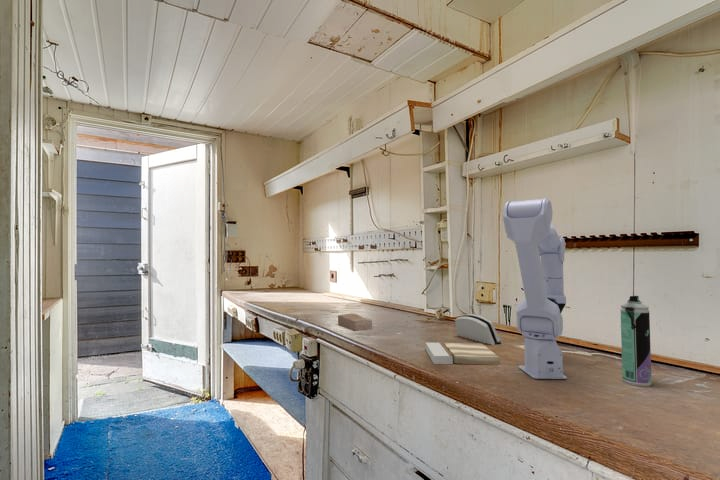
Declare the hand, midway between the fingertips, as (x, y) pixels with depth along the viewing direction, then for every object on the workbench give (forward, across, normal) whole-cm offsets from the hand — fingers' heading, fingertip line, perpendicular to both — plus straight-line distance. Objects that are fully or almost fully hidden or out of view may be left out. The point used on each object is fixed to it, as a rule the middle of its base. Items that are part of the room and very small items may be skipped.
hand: (553, 326), depth 108 cm
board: (+9, +1, -32) cm, 33 cm away
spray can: (+10, +18, +12) cm, 24 cm away
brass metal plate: (+9, 0, -23) cm, 25 cm away
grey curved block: (+10, -23, -18) cm, 31 cm away
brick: (+10, -42, -64) cm, 77 cm away
